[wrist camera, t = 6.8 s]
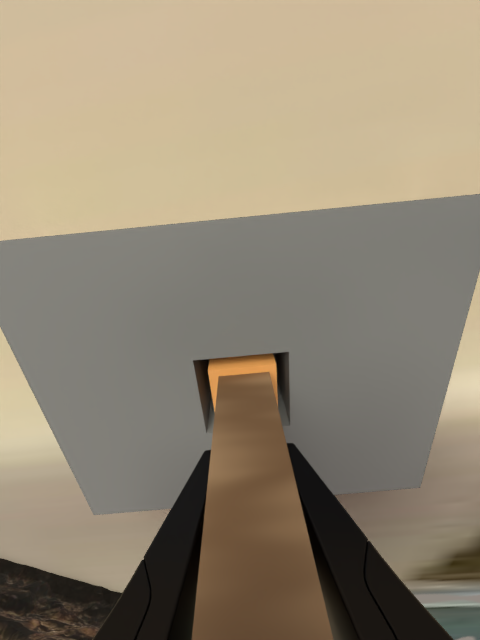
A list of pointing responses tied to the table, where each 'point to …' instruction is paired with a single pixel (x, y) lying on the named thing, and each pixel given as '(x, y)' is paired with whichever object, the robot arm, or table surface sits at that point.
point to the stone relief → (50, 605)
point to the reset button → (241, 369)
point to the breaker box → (244, 338)
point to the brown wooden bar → (254, 527)
